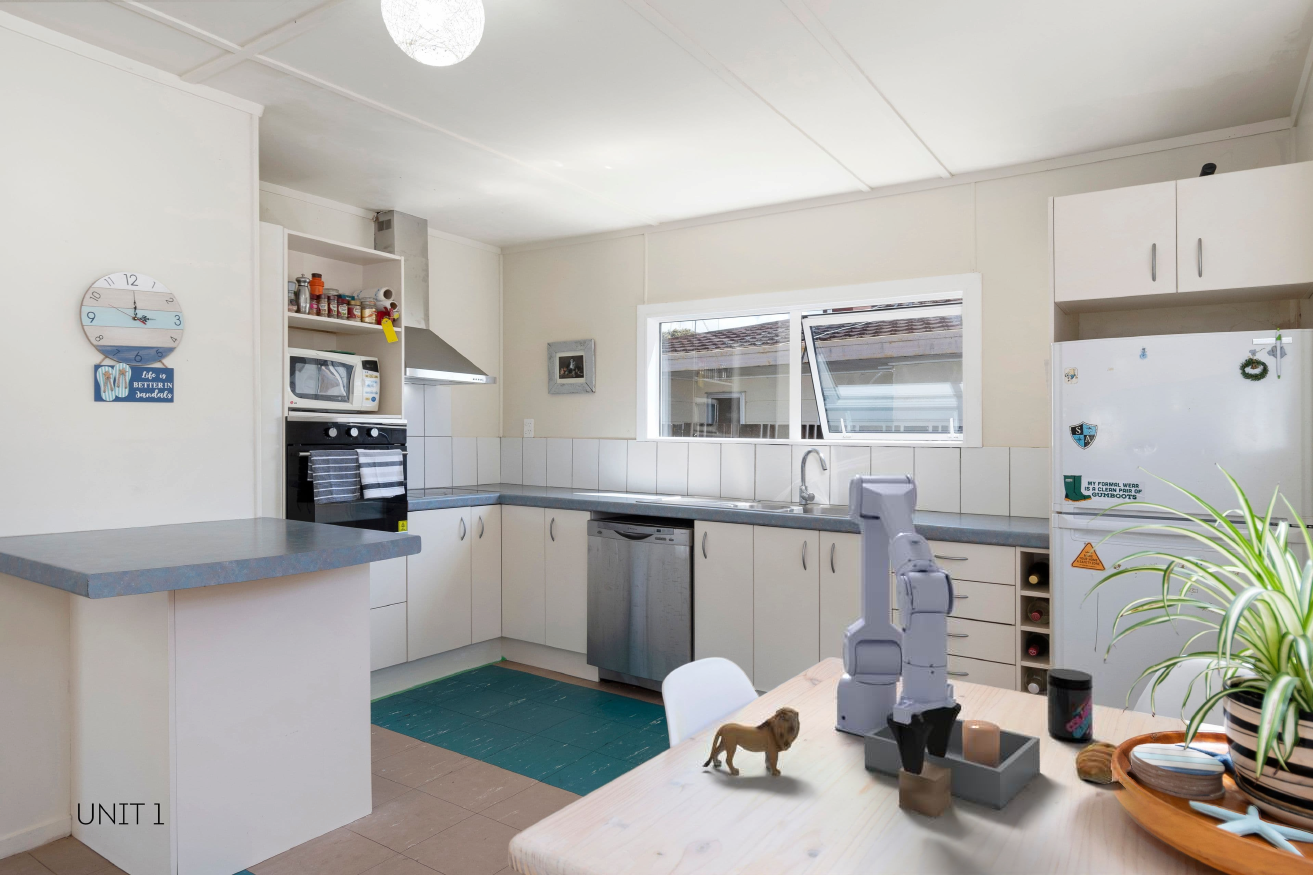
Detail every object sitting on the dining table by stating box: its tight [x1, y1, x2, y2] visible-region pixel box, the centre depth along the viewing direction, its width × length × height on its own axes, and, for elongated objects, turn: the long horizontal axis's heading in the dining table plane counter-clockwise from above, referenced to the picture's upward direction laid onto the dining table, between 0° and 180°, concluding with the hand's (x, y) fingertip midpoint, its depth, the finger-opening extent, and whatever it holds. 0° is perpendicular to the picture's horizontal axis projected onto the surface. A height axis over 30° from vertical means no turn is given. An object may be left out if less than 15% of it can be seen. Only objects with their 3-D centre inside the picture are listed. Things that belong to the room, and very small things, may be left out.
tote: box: [864, 713, 1041, 811], centre depth 115 cm, size 20×17×5 cm
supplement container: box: [1046, 668, 1094, 744], centre depth 129 cm, size 7×7×10 cm
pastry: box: [1075, 741, 1119, 785], centre depth 114 cm, size 9×7×4 cm
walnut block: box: [898, 762, 952, 820], centre depth 103 cm, size 5×5×5 cm
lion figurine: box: [702, 706, 801, 776], centre depth 115 cm, size 15×5×9 cm, turn 95°
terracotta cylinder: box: [962, 719, 1001, 768], centre depth 112 cm, size 5×5×7 cm
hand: (925, 763), depth 103 cm, fingers open, 7 cm apart
